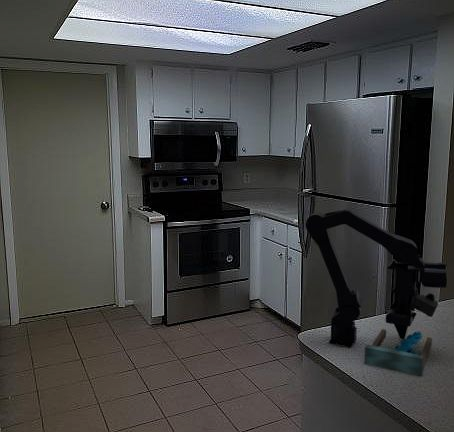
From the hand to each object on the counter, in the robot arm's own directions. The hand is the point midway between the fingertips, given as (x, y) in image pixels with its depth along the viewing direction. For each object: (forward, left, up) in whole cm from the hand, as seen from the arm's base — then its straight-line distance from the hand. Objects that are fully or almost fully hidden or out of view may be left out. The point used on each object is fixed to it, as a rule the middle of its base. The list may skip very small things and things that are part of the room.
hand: (402, 338), depth 129 cm
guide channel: (0, -3, -3) cm, 4 cm away
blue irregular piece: (+2, -6, -3) cm, 7 cm away
